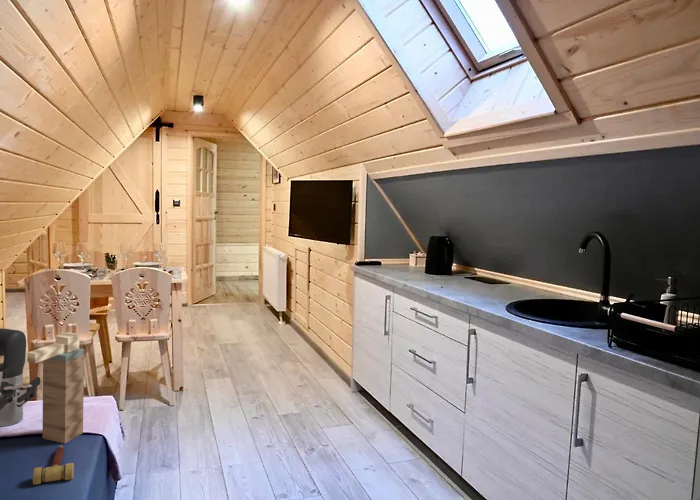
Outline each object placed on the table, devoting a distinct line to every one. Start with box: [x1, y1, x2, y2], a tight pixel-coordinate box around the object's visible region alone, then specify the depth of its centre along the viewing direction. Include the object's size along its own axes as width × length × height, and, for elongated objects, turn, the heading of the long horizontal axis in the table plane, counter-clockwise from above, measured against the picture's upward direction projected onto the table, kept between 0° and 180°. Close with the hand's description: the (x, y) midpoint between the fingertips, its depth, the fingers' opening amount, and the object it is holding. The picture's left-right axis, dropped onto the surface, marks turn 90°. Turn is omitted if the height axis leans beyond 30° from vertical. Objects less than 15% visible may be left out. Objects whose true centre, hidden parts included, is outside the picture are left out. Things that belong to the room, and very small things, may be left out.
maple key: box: [26, 331, 80, 364], centre depth 166 cm, size 17×5×5 cm, turn 166°
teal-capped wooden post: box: [42, 347, 85, 444], centre depth 173 cm, size 8×9×30 cm
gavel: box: [32, 445, 75, 486], centre depth 157 cm, size 21×5×10 cm
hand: (26, 374), depth 152 cm, fingers open, 8 cm apart
